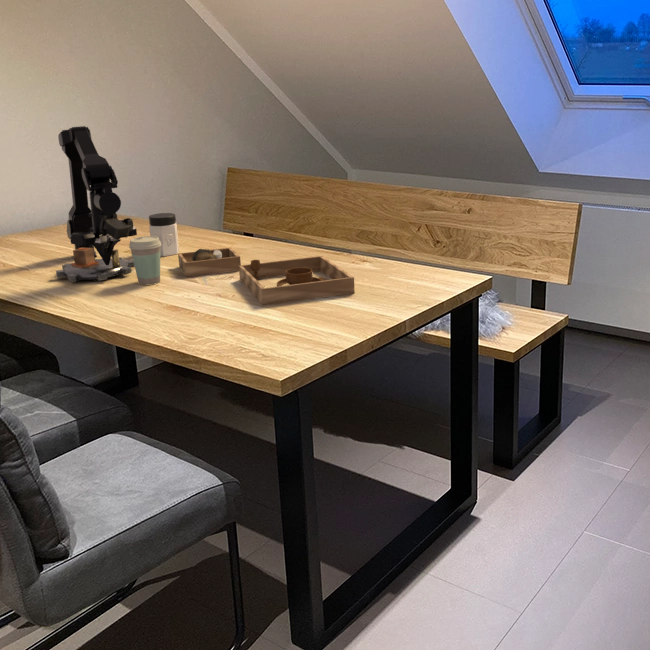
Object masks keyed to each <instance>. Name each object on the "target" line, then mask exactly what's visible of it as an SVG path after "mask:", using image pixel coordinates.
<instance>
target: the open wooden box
mask: <svg viewBox="0 0 650 650" xmlns="http://www.w3.org/2000/svg"><path fill="white" fill-rule="evenodd" d="M209 250H210V252H211V254H213V252H214V250H219V251H221V252H222V258H218V259H210V260H201V261H193V260H192V257H193V254H194V253H195V252H196V251H189V252H178V254H177V255H178V258H177V259H178V267H179V269H180V271H181V272H182V273H183V275H184V276H185V277H186V278H188V277H198V276H206V274H207V275H215V273H216V274H221V273H231V272H239V266H240V265H242V263H241V256H240V255H239V254H238V253H237V251H235V250H234V249H233V248H232V247H226V248H225V247H224V248H216V249H209Z"/></svg>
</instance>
